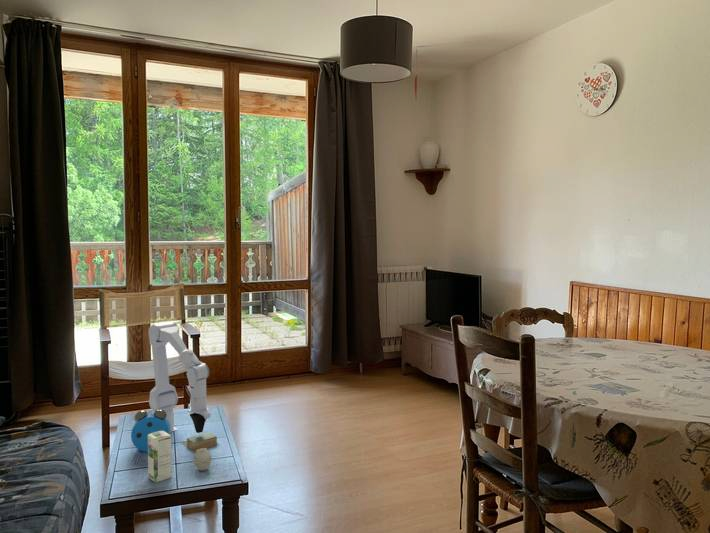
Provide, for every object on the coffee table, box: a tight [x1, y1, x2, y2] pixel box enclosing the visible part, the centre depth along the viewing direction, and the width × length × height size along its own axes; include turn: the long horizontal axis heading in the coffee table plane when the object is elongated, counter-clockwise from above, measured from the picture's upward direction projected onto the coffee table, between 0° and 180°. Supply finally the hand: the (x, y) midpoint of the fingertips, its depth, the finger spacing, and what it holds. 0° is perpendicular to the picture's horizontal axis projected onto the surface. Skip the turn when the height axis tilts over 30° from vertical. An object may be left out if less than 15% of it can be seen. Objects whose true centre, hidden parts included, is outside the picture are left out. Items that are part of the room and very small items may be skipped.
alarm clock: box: [130, 409, 172, 453], centre depth 197 cm, size 13×6×15 cm, turn 102°
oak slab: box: [186, 431, 218, 451], centre depth 200 cm, size 3×9×6 cm
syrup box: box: [147, 431, 173, 483], centre depth 175 cm, size 6×6×14 cm
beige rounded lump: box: [192, 448, 213, 472], centre depth 181 cm, size 6×7×7 cm
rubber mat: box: [180, 440, 220, 453], centre depth 202 cm, size 12×10×1 cm
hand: (199, 432), depth 201 cm, fingers closed
